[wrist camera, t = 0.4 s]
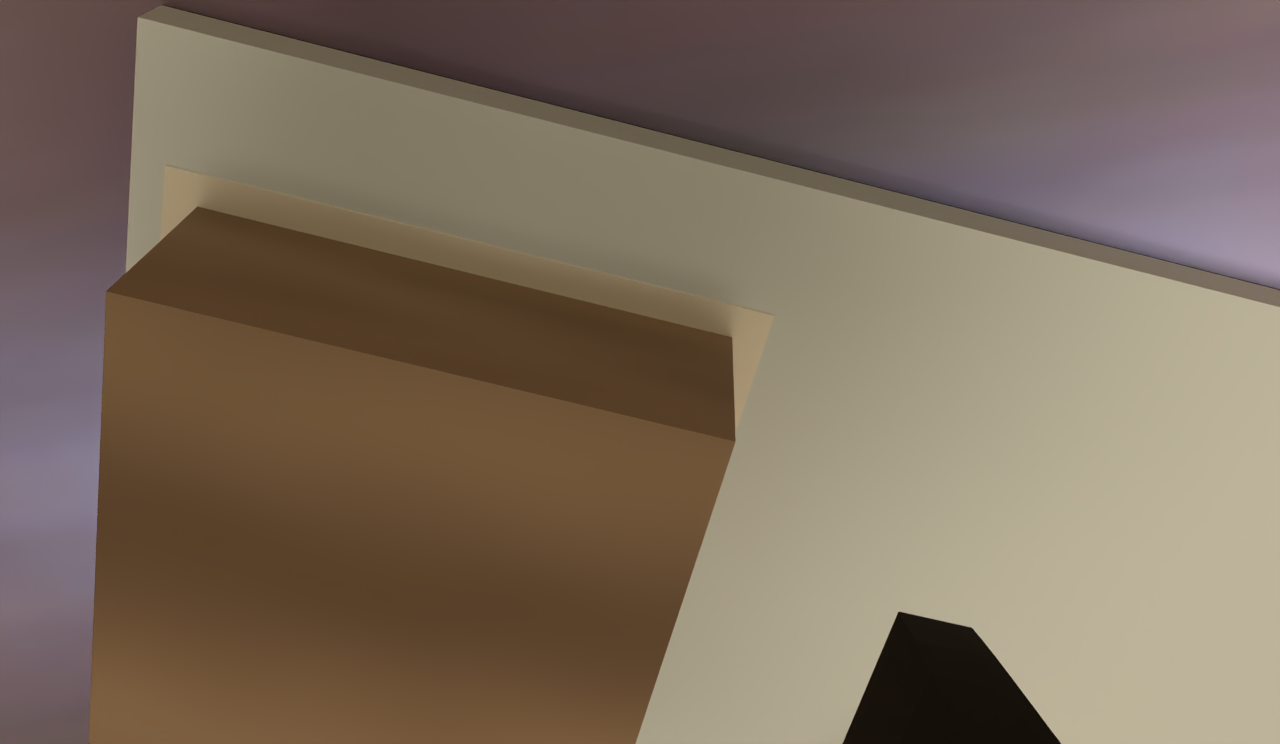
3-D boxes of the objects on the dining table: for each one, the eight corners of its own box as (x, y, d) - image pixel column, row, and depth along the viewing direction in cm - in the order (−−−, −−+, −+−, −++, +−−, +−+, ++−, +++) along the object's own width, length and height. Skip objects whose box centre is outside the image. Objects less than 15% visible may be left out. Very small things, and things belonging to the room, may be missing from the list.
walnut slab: (610, 723, 22) (596, 861, 19) (165, 625, 21) (88, 753, 19) (732, 337, 18) (736, 441, 15) (197, 207, 18) (106, 291, 15)
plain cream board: (1089, 1090, 27) (1100, 1131, 27) (113, 889, 26) (94, 926, 25) (1597, 370, 19) (1636, 399, 18) (162, 4, 17) (136, 18, 16)
